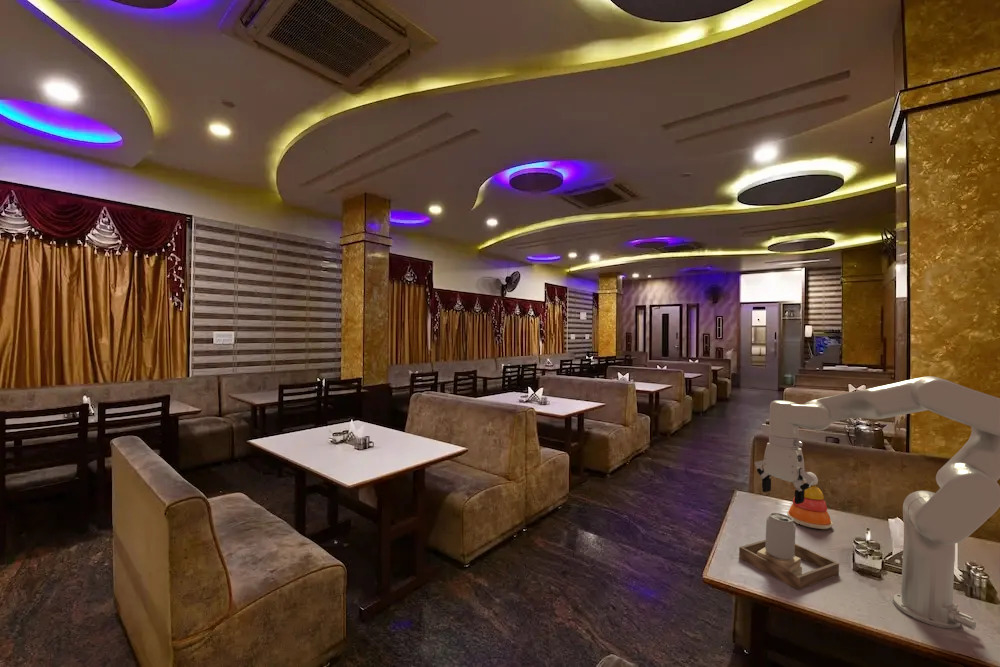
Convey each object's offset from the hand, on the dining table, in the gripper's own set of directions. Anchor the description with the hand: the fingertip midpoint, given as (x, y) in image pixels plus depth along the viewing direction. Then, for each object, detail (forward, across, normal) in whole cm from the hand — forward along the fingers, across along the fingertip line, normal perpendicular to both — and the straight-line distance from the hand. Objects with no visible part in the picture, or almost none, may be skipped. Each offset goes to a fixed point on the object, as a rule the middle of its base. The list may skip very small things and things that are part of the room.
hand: (782, 497), depth 129 cm
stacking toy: (+23, +17, -44) cm, 52 cm away
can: (+18, 0, 0) cm, 18 cm away
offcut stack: (+22, 0, 0) cm, 22 cm away
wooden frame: (+22, 0, -4) cm, 23 cm away
